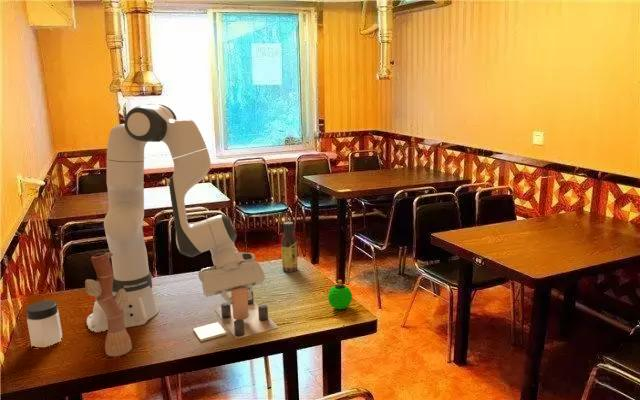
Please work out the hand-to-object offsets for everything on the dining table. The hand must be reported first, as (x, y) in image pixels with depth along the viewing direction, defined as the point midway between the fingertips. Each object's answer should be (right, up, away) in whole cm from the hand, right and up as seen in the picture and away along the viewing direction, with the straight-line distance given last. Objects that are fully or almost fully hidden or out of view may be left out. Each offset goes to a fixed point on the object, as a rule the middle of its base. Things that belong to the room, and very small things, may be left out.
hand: (240, 301), depth 162 cm
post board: (+1, -7, +6) cm, 9 cm away
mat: (-9, -9, -4) cm, 13 cm away
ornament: (+32, -5, +10) cm, 34 cm away
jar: (-58, -11, -6) cm, 59 cm away
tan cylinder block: (0, -5, +2) cm, 5 cm away
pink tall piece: (-35, -12, -13) cm, 39 cm away
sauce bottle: (+13, +3, +47) cm, 49 cm away
